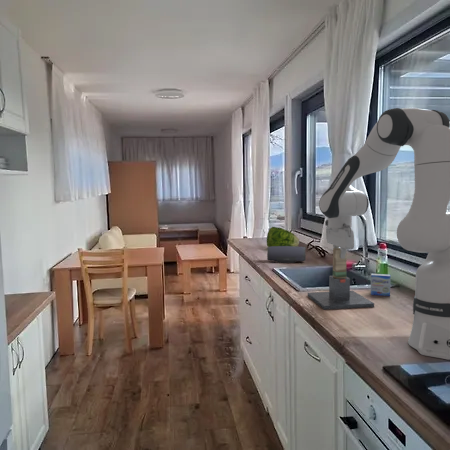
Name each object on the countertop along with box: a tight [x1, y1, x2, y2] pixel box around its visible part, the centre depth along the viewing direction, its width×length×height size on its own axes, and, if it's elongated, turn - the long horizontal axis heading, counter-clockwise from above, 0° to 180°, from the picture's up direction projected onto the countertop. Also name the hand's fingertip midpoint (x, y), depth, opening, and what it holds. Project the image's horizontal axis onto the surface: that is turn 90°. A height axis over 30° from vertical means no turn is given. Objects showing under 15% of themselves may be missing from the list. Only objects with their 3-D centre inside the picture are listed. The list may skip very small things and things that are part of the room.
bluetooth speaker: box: [266, 246, 307, 264], centre depth 260 cm, size 23×9×10 cm, turn 80°
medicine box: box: [370, 273, 392, 297], centre depth 183 cm, size 8×4×9 cm, turn 70°
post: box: [332, 247, 348, 279], centre depth 172 cm, size 4×4×16 cm
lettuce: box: [266, 226, 300, 248], centre depth 308 cm, size 17×23×16 cm
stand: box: [307, 275, 375, 311], centre depth 173 cm, size 20×20×10 cm
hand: (339, 257), depth 172 cm, fingers closed on post, 4 cm apart
